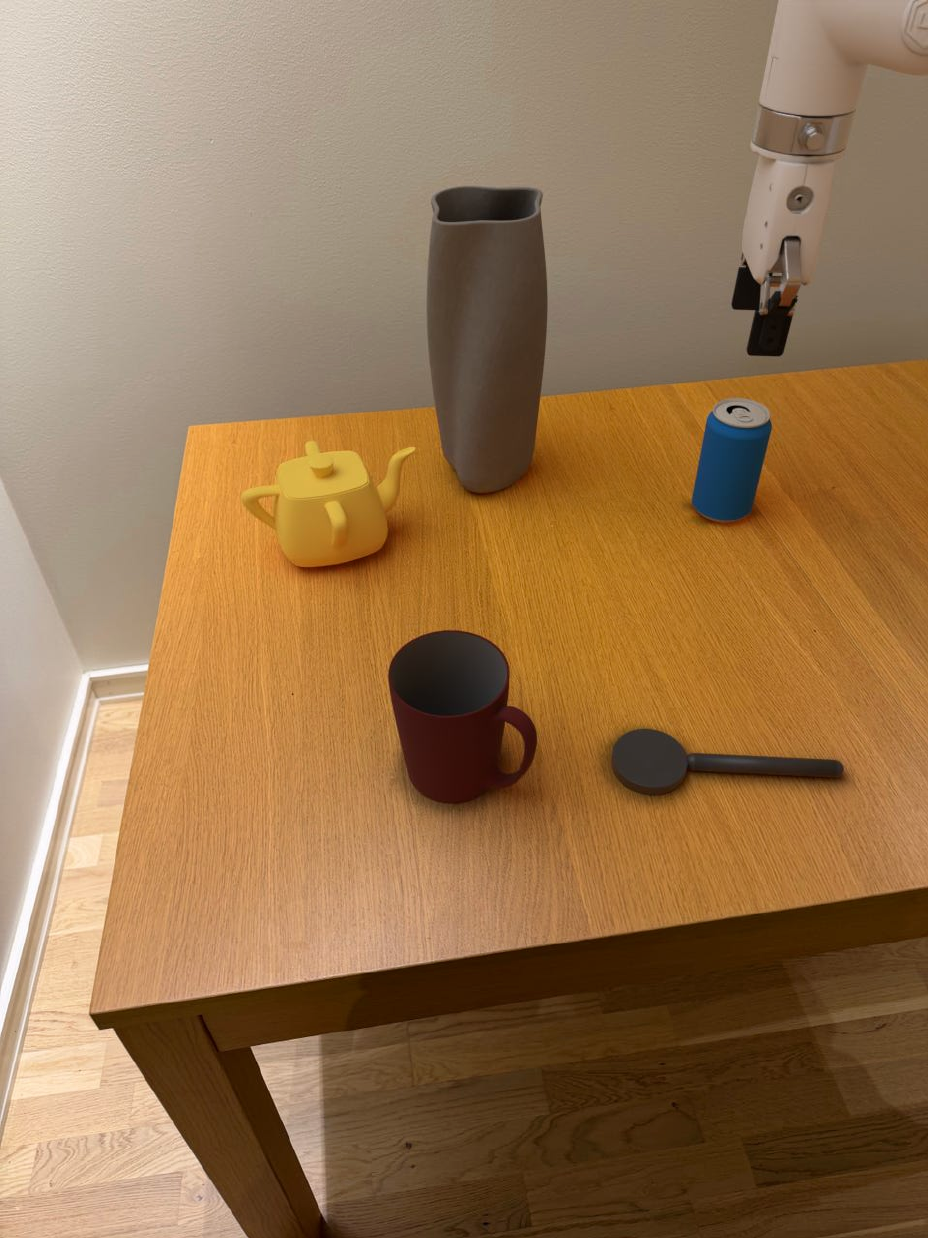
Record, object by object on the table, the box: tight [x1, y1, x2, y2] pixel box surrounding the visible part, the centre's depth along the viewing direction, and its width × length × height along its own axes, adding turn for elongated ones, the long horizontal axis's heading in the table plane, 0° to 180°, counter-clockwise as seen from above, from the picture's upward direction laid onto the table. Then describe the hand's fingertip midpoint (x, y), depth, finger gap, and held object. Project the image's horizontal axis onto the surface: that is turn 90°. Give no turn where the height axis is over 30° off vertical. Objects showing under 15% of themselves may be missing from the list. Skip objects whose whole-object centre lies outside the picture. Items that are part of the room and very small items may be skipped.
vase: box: [426, 185, 549, 494], centre depth 94 cm, size 12×12×30 cm
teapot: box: [240, 440, 416, 568], centre depth 91 cm, size 14×13×10 cm
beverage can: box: [691, 397, 773, 524], centre depth 94 cm, size 6×6×12 cm
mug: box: [387, 629, 538, 804], centre depth 68 cm, size 12×9×11 cm
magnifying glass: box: [610, 728, 845, 796], centre depth 71 cm, size 18×6×1 cm, turn 86°
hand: (755, 330), depth 84 cm, fingers open, 9 cm apart
